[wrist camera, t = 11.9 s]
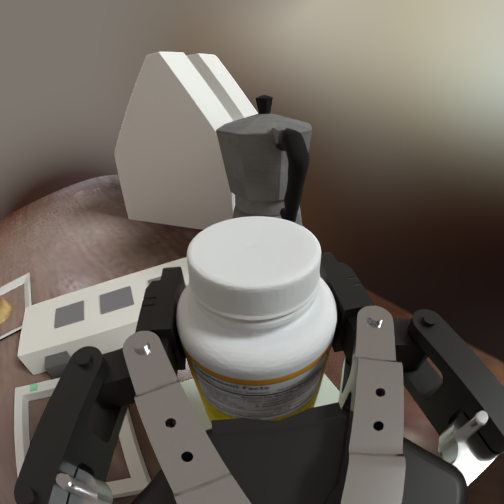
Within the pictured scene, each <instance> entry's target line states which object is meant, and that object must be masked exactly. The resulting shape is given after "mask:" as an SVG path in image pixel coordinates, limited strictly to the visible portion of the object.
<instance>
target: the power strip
mask: <svg viewBox="0 0 504 504" xmlns="http://www.w3.org/2000/svg"><path fill="white" fill-rule="evenodd" d="M179 266H180V267H181V268H182V272H183V277H184V282H185V286H187V285H188V284H189V272H188V264H187V257H185V258H181V259H178V260H175V261H172V262H168V263H165V264H162V265H158V266H155V267H152V268H149V269H145V270H142V271H139V272H135V273H132V274H129V275H126V276H123V277H119V278H116V279H113V280H110V281H106V282H103V283H100V284H97V285H94V286H91V287H87V288H84V289H81V290H78V291H75V292H72V293H68V294H65V295H62V296H59V297H56V298H53V299H50V300H47V301H44V302H41V303H37V304H34V305H31V306H28V307H26V309H25V314H24V319H23V324H22V330H21V336H20V342H19V349H18V358H19V359H20V360H21V361H22V362H23V364H24V365H25V366H26V367H27V368H28V370H29V371H30V372H31V373H32V374H33V375H35V374H39V373H43V372H48V373H49V374H50V376H51V377H52V378H53V379H56V378H60V377H61V375H62V373H63V371H64V369H65V367H66V365H67V364H68V362H69V360H70V358H71V356H72V355H73V354H74V353H75V352H76V351H77V350H78V349H80V348H83V347H86V346H93V347H96V348H98V349H99V350H100V351H101V353H102V354H105V353H108V352H112V351H115V350H118V349H121V348H123V344H124V342H125V341H126V339H127V338H128V337H129V336H131V335H132V334H134V333H135V331H136V326H137V322H138V318H139V314H140V309H141V307H142V301H143V300H144V294H145V290H146V288H147V287H148V286H149V284H150V283H151V282H152V281H156V280H160V279H161V275H162V270H163V268H168V267H179Z"/></svg>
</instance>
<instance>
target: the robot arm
mask: <svg viewBox="0 0 504 504" xmlns="http://www.w3.org/2000/svg"><path fill="white" fill-rule="evenodd" d="M319 272H320V277H321V278H322V279H323V280H324V281H325V283H326V284H327V285H328V287H329V288H330V290H331V292H332V294H333V296H334V299H335V302H336V305H337V323H336V328H335V333H334V337H333V341H332V347H333V350H334V352H338V351H344V353H345V358H344V362H343V370H342V379H341V386H340V394H339V400H338V402H336V403H332V404H328V405H323V406H318V407H313V408H309V409H306V410H304V411H302V412H299V413H297V414H295V415H292V416H290V417H287V418H285V419H282V420H279V421H270V420H259V419H250V418H236V419H224V420H212V428H211V429H207V430H204V428H203V426H202V424H201V422H200V421H199V419H198V417H197V415H196V413H195V411H194V409H193V407H192V405H191V404H190V402H189V400H188V398H187V396H186V394H185V392H184V390H183V388H182V386H181V384H180V382H179V380H178V378H177V371H178V370H185V364H186V355H185V352H184V350H183V347H182V344H181V340H180V337H179V334H178V330H177V326H176V309H177V304H178V301H179V298H180V296H181V294H182V292H183V290H184V289H185V287H186V286H185V282H184V277H183V272H182V268H181V267H180V266H179V267H168V268H163V270H162V275H161V279H160V280H156V281H152V282H151V283H150V284H149V286H148V287H147V288H146V290H145V294H144V300H143V301H142V307H141V309H140V314H139V318H138V322H137V326H136V331H135V333H134V334H132V335H131V336H129V337H128V338H127V339H126V341H125V342H124V344H123V348H121V349H118V350H115V351H112V352H108V353H105V354H102V353H101V351H100V350H99V349H98V348H96V347H93V346H86V347H83V348H80V349H78V350H77V351H76V352H75V353H74V354H73V355H72V356H71V358H70V360H69V362H68V364H67V365H66V367H65V369H64V371H63V373H62V375H61V377H60V379H59V381H58V383H57V385H56V387H55V389H54V391H53V393H52V395H51V397H50V400H49V402H48V404H47V406H46V408H45V410H44V413H43V415H42V417H41V419H40V422H39V424H38V426H37V429H36V431H35V433H34V436H33V438H32V441H31V443H30V446H29V448H28V451H27V454H26V456H25V459H24V462H23V465H22V467H21V470H20V473H19V476H18V479H17V482H16V485H15V490H14V495H15V500H16V503H17V504H113V495H112V492H111V489H110V488H109V486H108V485H107V484H106V483H105V480H106V476H107V473H108V469H109V466H110V462H111V459H112V456H113V452H114V449H115V446H116V443H117V439H118V436H119V433H120V430H121V427H122V424H123V421H124V418H125V415H126V412H127V409H128V406H129V404H132V403H136V406H137V409H138V411H139V414H140V417H141V420H142V422H143V425H144V428H145V430H146V433H147V435H148V438H149V440H150V443H151V445H152V447H153V450H154V452H155V454H156V457H157V459H158V461H159V464H160V466H161V468H162V469H161V470H160V471H159V473H158V474H157V475H156V476H155V477H154V478H153V479H152V481H151V482H150V483H149V484H148V485H147V486H146V487H145V488H144V490H143V491H142V492H141V493H140V494H139V495H138V496H137V497H136V498H135V499H134V500H133V502H132V503H131V504H466V503H467V497H468V487H467V486H468V485H469V484H470V483H471V482H472V481H473V480H474V479H475V478H476V477H477V476H478V475H479V474H480V473H481V472H482V471H483V470H484V469H485V468H486V467H487V466H488V465H489V464H490V463H491V462H492V461H493V460H494V459H495V458H496V457H498V456H499V455H501V454H502V453H504V387H503V386H502V385H501V384H500V382H499V381H498V380H497V379H496V377H495V376H494V375H493V374H492V373H491V372H490V370H489V369H488V368H487V367H486V366H485V365H484V363H483V362H482V361H481V360H480V359H479V358H478V357H477V355H476V354H475V353H474V352H473V351H472V350H471V349H470V348H469V346H468V345H467V344H466V343H465V342H464V341H463V340H462V339H461V338H460V337H459V336H458V335H457V334H456V332H455V331H454V330H453V329H452V328H451V327H450V326H449V325H448V324H447V323H446V322H445V321H444V320H443V319H442V318H441V317H440V316H439V315H438V314H437V313H435V312H433V311H431V310H427V309H421V310H418V311H416V312H415V313H414V315H413V317H412V319H397V318H392V316H391V314H390V313H389V312H388V311H387V310H385V309H384V308H381V307H378V306H375V305H374V303H373V301H372V300H371V298H370V297H369V295H368V293H367V292H366V290H365V288H364V287H363V285H362V284H361V282H360V281H359V279H358V278H357V276H356V274H355V273H354V271H353V270H352V269H351V268H350V267H349V266H347V265H346V264H345V263H338V262H337V261H336V259H335V258H334V256H333V254H332V253H321V262H320V271H319ZM428 357H429V358H430V359H431V360H432V362H433V363H434V364H435V365H436V367H437V368H438V369H439V370H440V371H441V373H442V375H443V380H442V378H441V377H440V376H439V375H438V373H437V372H436V371H435V370H434V368H433V367H432V366H431V365H430V364H429V362H428V361H427V358H428ZM404 386H405V387H406V389H407V390H408V392H409V393H410V394H411V396H412V397H413V398H414V400H415V401H416V403H417V404H418V405H419V407H420V408H421V410H422V411H423V412H424V414H425V415H426V417H427V418H428V420H429V421H430V422H431V424H432V425H433V427H434V428H435V430H436V431H437V433H438V434H439V435H440V437H439V447H438V453H439V454H440V455H441V456H443V459H441V458H439V457H438V456H436V455H434V454H432V453H430V452H429V451H427V450H425V449H423V448H422V447H420V446H418V445H416V444H415V443H413V442H411V441H410V440H408V439H406V438H404V437H403V429H404Z"/></svg>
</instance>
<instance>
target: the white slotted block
mask: <svg viewBox="0 0 504 504" xmlns="http://www.w3.org/2000/svg"><path fill="white" fill-rule="evenodd" d="M256 114H258V113H257V111H256V110H255V109H254V107H253V106H252V104H251V103H250V101H249V100H248V98H247V97H246V96H245V94H244V93H243V92H242V90H241V89H240V87H239V86H238V84H237V83H236V82H235V80H234V79H233V78H232V76H231V75H230V74H229V72H228V71H227V70H226V68H225V67H224V65H223V64H222V63H221V62H220V60H219V59H218V58H217V56H216V55H210V54H192V55H187V56H186V55H185V54H184V53H183V52H156V53H152V54H148V55H147V56H146V58H145V60H144V63H143V65H142V68H141V70H140V73H139V76H138V78H137V81H136V84H135V86H134V89H133V92H132V95H131V98H130V101H129V104H128V107H127V110H126V113H125V116H124V119H123V123H122V126H121V130H120V133H119V137H118V140H117V144H116V148H115V152H114V155H115V160H116V165H117V170H118V175H119V180H120V185H121V189H122V194H123V198H124V202H125V206H126V210H127V215H128V218H129V219H131V220H138V221H145V222H152V223H159V224H166V225H173V226H180V227H187V228H194V229H201V230H204V229H206V228H207V227H209V226H211V225H213V224H216V223H219V222H221V221H225V220H229V219H233V211H234V207H235V194H233V193H232V192H230V188H229V184H228V179H227V175H226V171H225V167H224V162H223V158H222V154H221V150H220V145H219V141H218V137H217V133H216V130H217V129H218V128H220V127H221V126H223V125H224V124H227V123H230V122H233V121H236V120H239V119H242V118H246V117H249V116H252V115H256Z"/></svg>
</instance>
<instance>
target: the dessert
mask: <svg viewBox="0 0 504 504" xmlns="http://www.w3.org/2000/svg"><path fill="white" fill-rule="evenodd" d="M22 284H25V309H26V307H28V306H31V305H32V304H31V289H30V272H29V273H27V274H25V275H23V276H21V277H19V278H17V279H15V280H13V281H11V282H9V283H8V284H6V285H4V286H2V287H0V324H1V323H3V322H4V321H5V320H6V319H7V317H8V316H9V314H10V312H11V305H10V304H9V303H8V302H7V301H6V300H5V299H4V298H3V297H2V296H1V295H3V294H5V293H6V292H8V291H10V290H12V289H14V288H16V287H18V286H20V285H22ZM20 329H22V326H20V327H18V328H16V329H14V330H12V331H10V332H8V333H6V334H4V335H2V336H0V340H1V339H2V338H4V337H6V336H8V335H10V334H12V333H14V332H16V331H18V330H20Z"/></svg>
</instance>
